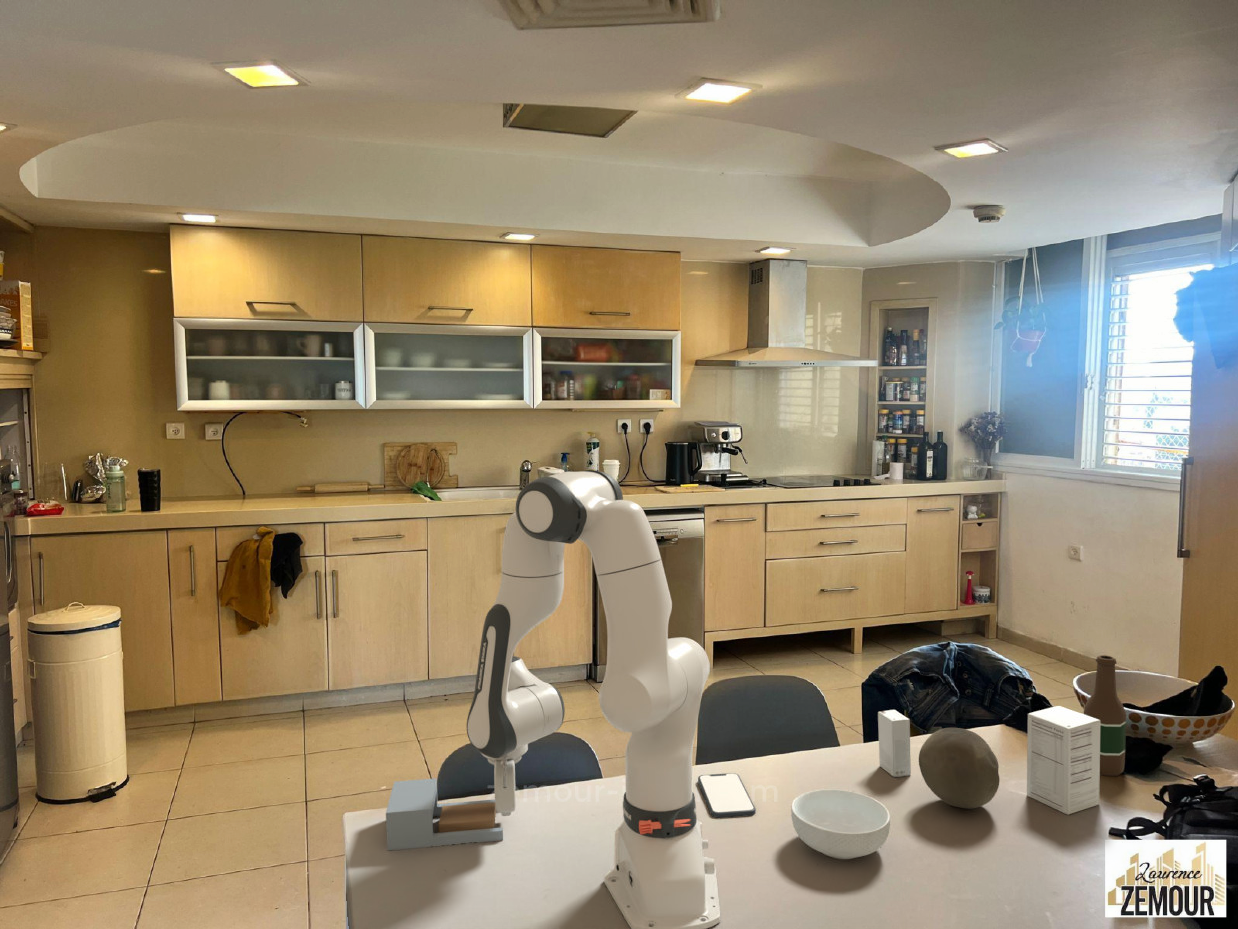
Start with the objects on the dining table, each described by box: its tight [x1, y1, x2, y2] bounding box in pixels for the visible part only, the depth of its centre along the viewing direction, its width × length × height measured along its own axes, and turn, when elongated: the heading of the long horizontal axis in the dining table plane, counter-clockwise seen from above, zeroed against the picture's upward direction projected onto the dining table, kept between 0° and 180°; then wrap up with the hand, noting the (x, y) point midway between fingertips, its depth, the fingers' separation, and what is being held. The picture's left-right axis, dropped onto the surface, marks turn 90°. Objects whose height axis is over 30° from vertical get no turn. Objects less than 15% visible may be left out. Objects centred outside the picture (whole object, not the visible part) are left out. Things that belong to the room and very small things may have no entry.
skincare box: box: [877, 709, 912, 778], centre depth 181 cm, size 6×4×12 cm
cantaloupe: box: [918, 727, 1000, 810], centre depth 165 cm, size 14×14×15 cm
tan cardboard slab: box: [438, 803, 497, 833], centre depth 162 cm, size 7×10×3 cm
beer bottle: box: [1083, 655, 1127, 777], centre depth 180 cm, size 8×8×24 cm
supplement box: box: [1026, 705, 1101, 816], centre depth 167 cm, size 10×9×17 cm
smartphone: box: [697, 772, 757, 819], centre depth 172 cm, size 9×2×16 cm
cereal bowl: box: [790, 788, 891, 860], centre depth 152 cm, size 17×17×7 cm
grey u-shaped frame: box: [385, 777, 504, 851], centre depth 161 cm, size 12×20×7 cm, turn 98°
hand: (506, 812), depth 163 cm, fingers closed
